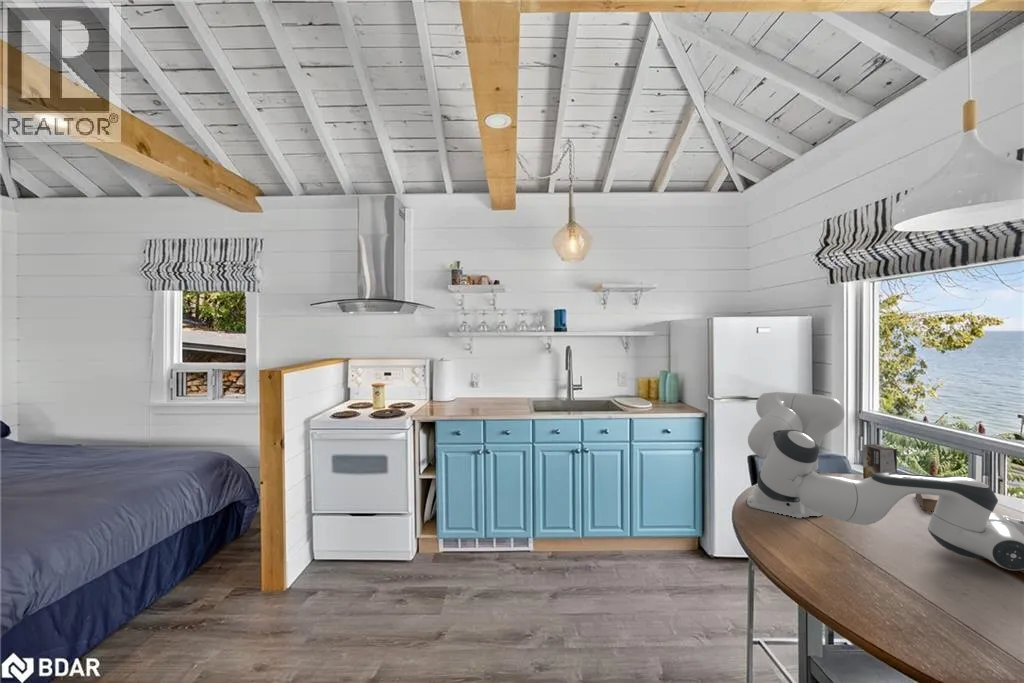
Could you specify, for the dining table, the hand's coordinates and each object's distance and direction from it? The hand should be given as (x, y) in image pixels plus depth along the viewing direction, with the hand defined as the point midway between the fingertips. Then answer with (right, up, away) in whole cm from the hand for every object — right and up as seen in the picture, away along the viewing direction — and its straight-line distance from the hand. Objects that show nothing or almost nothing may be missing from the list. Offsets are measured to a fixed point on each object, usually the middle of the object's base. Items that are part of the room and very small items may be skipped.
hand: (981, 514), depth 131 cm
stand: (+14, -7, +26) cm, 30 cm away
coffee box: (+6, -7, +44) cm, 45 cm away
